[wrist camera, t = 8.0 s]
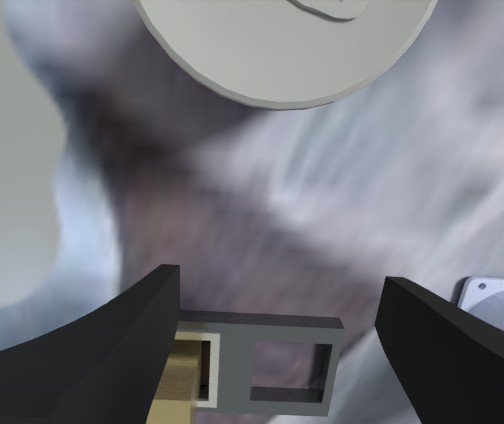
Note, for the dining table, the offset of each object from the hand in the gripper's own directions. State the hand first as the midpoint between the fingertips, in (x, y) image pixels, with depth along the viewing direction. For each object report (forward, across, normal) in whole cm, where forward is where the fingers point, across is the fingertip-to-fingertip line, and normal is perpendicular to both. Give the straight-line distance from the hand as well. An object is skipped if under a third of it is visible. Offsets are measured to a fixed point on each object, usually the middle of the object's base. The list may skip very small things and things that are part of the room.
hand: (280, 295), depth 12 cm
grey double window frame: (+10, +2, +12) cm, 16 cm away
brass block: (+10, +6, +12) cm, 17 cm away
